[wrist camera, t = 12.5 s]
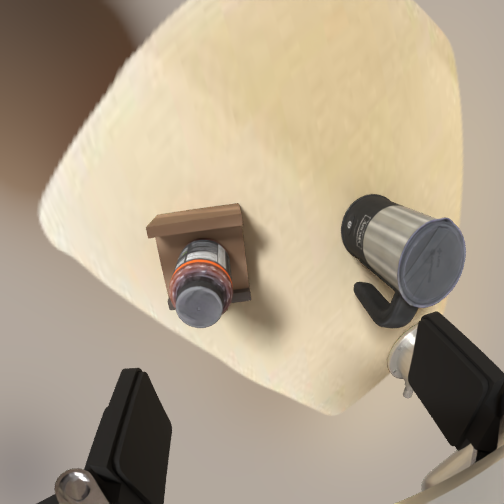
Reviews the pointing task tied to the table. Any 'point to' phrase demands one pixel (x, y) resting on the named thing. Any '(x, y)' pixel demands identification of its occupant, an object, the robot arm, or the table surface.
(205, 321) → the supplement bottle
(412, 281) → the milk frother
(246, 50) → the table surface
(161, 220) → the shelf
